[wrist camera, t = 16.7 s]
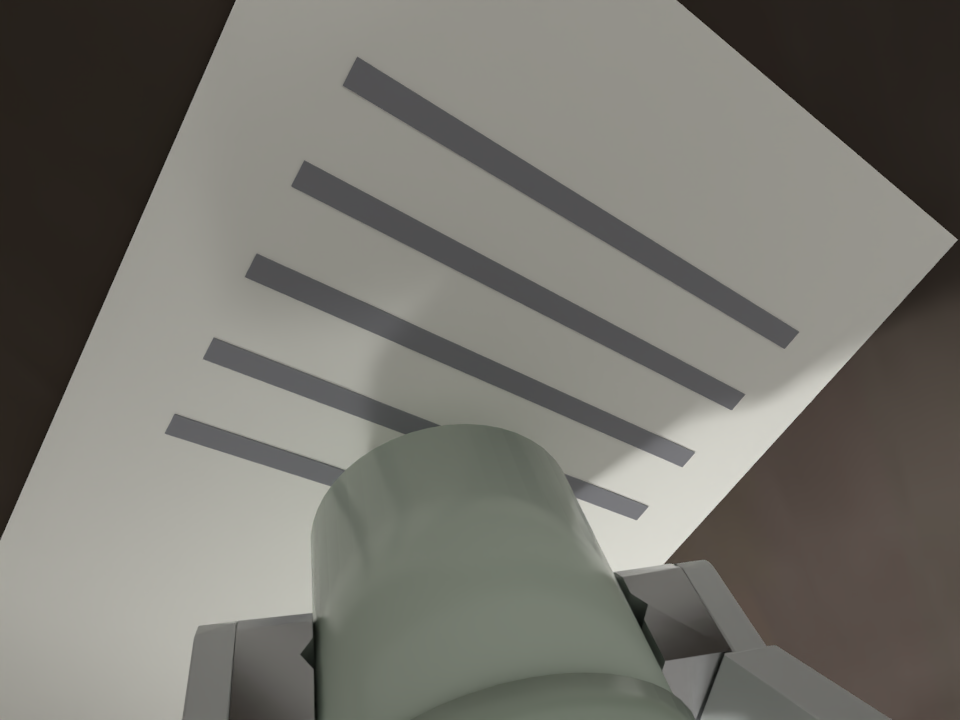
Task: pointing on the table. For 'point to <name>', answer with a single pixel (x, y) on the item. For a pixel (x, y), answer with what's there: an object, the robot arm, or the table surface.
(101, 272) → the table surface
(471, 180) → the letter
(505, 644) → the jar
